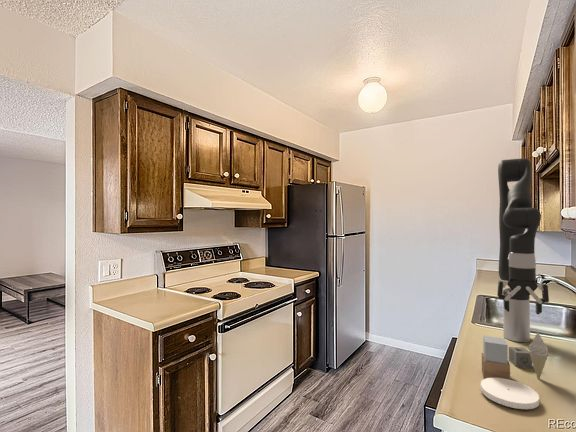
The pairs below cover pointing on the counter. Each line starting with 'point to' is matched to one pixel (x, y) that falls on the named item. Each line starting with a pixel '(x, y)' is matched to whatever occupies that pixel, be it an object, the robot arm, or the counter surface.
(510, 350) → the dice cube
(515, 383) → the plastic lid
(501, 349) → the tower top
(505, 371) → the tower base
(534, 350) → the ice cream cone
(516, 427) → the counter surface
